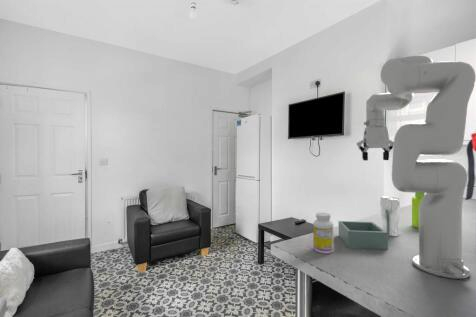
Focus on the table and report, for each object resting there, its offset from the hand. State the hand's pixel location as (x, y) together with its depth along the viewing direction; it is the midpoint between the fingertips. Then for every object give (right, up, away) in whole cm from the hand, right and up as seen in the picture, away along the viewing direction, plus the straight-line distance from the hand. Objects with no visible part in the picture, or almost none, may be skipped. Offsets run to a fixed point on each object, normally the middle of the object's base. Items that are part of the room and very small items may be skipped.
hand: (375, 160), depth 111 cm
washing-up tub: (-18, -31, -22) cm, 42 cm away
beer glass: (-2, -31, -13) cm, 34 cm away
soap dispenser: (+18, -31, -4) cm, 36 cm away
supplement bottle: (-35, -32, -29) cm, 56 cm away
